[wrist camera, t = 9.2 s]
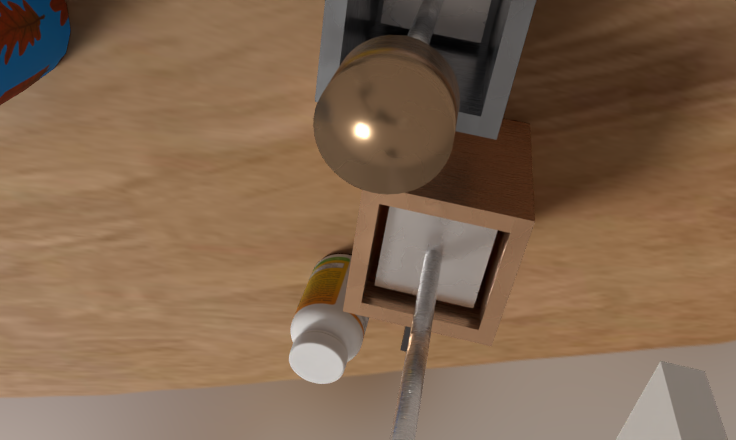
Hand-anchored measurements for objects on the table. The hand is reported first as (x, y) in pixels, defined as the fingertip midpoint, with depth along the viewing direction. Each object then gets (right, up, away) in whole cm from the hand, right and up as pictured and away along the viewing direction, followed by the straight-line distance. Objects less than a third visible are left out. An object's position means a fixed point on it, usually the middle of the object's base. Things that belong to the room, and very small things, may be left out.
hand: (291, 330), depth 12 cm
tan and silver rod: (+6, +16, +25) cm, 30 cm away
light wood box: (+7, +5, +35) cm, 36 cm away
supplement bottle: (0, -3, +41) cm, 41 cm away
